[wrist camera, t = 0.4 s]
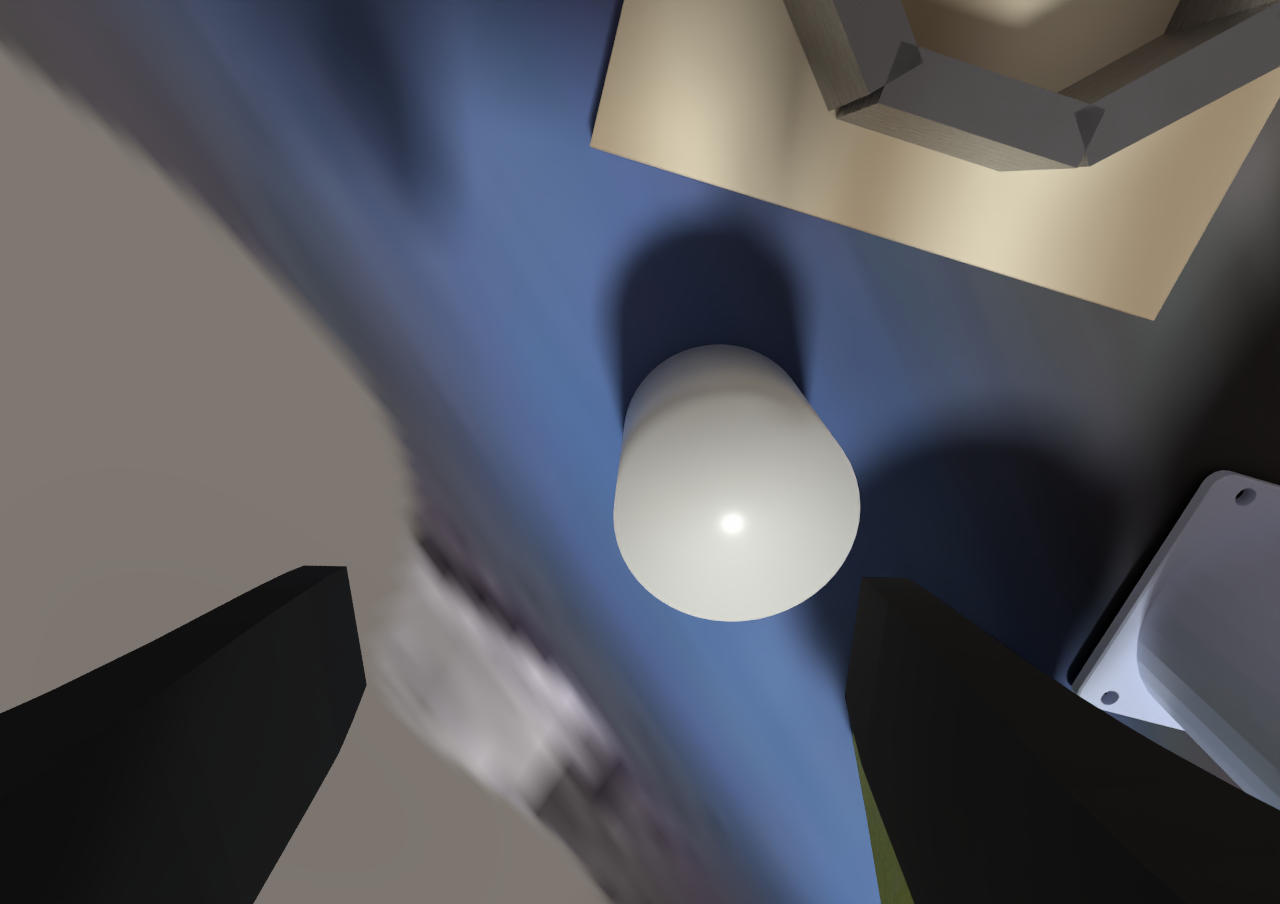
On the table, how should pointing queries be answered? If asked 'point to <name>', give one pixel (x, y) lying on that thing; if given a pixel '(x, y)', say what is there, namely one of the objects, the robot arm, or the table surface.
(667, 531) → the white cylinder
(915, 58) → the lens ring
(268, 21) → the table surface
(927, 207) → the mount plate
